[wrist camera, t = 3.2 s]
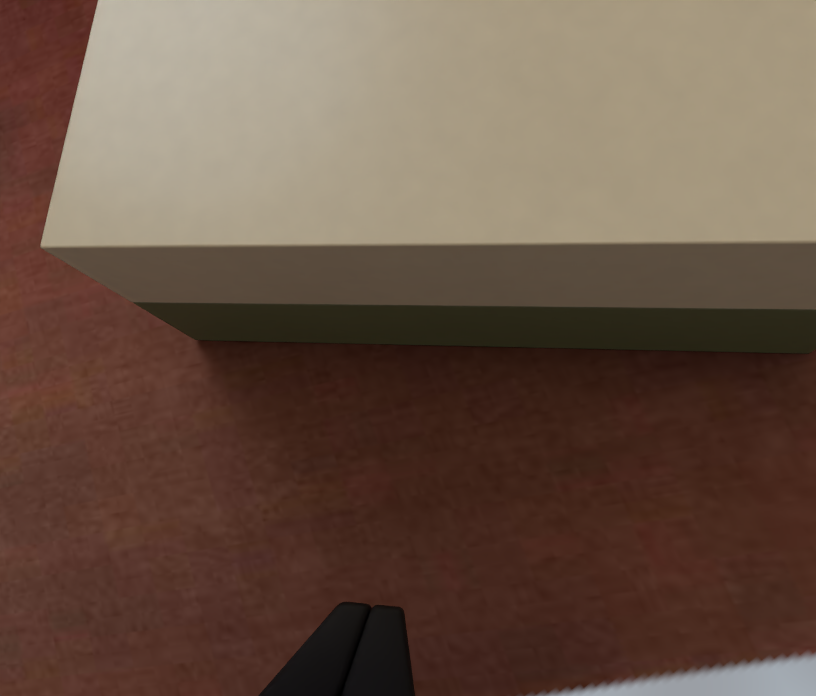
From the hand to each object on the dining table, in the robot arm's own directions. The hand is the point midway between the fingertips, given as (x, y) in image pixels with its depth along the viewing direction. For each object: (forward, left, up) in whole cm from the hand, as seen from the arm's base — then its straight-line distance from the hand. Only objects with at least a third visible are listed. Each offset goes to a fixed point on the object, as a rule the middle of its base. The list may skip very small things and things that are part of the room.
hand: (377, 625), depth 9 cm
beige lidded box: (+12, -10, -12) cm, 19 cm away
